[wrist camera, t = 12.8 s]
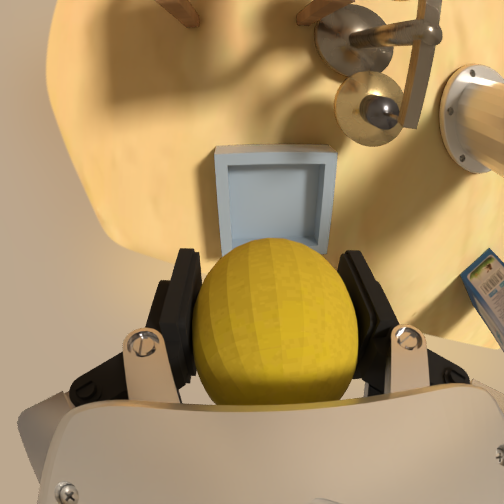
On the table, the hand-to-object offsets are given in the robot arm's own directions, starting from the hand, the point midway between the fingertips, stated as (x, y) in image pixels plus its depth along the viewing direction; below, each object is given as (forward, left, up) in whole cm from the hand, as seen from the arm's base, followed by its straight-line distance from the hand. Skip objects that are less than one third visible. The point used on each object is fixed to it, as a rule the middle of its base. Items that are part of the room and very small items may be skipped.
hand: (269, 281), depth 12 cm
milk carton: (-35, +17, -17) cm, 42 cm away
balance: (-9, -11, -17) cm, 22 cm away
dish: (-2, +4, -17) cm, 17 cm away
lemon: (0, 0, -2) cm, 2 cm away
